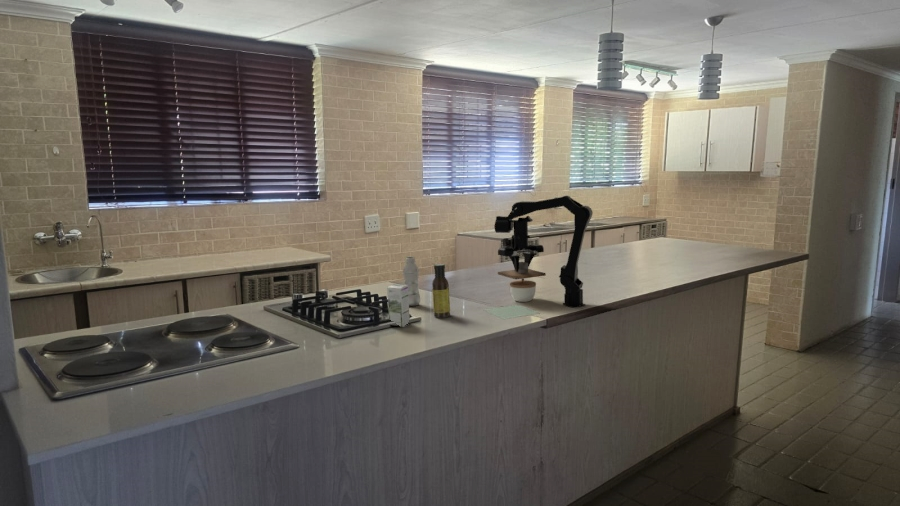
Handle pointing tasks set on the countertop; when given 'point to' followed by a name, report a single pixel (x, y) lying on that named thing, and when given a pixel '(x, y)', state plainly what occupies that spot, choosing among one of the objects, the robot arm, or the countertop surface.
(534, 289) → the lidded jar
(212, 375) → the countertop surface
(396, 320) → the syrup box
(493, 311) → the mat
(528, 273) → the lid
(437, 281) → the sauce bottle
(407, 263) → the plastic bottle
